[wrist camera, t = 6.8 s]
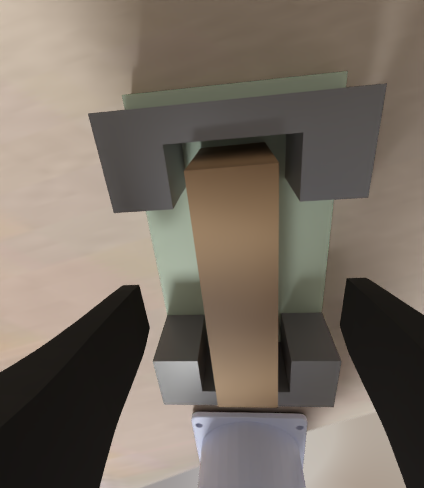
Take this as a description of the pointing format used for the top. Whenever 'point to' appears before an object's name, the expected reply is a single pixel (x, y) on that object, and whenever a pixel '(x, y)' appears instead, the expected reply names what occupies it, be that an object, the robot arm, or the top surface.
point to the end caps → (297, 175)
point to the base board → (290, 208)
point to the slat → (238, 267)
